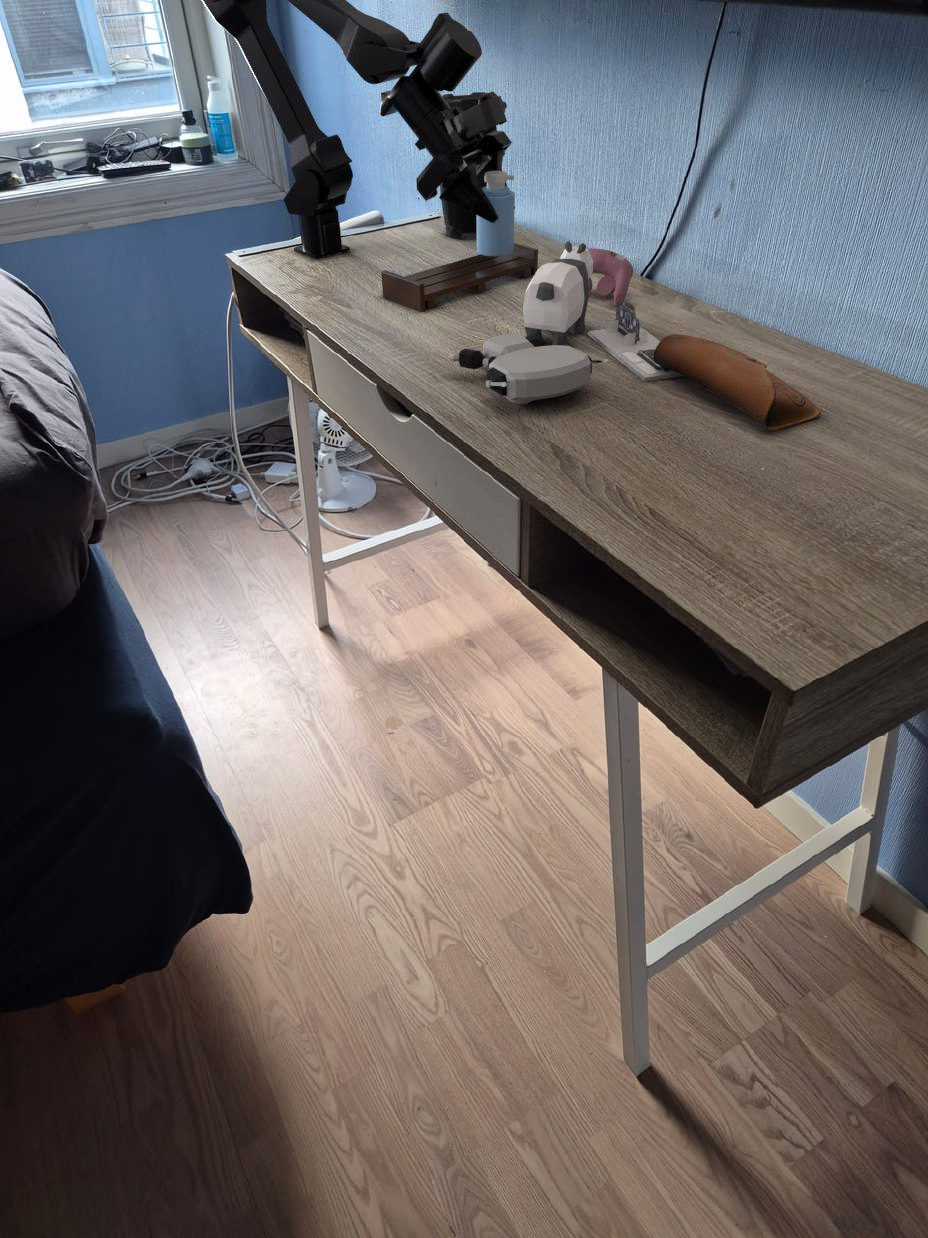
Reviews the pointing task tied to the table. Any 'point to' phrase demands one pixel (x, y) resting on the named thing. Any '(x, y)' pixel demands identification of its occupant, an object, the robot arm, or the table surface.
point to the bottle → (501, 232)
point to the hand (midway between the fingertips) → (504, 215)
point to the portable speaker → (454, 215)
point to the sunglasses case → (736, 380)
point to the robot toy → (528, 367)
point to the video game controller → (611, 274)
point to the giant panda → (559, 295)
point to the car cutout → (632, 344)
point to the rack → (457, 277)
